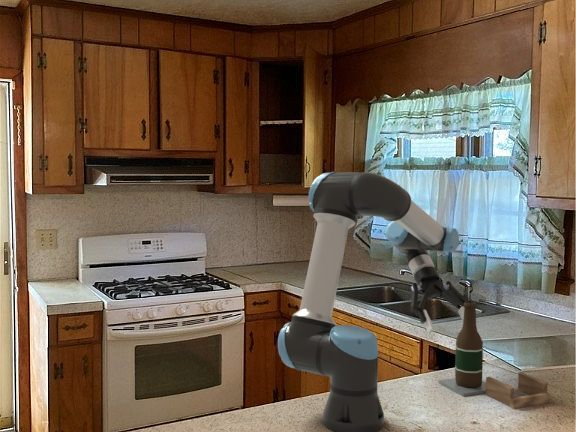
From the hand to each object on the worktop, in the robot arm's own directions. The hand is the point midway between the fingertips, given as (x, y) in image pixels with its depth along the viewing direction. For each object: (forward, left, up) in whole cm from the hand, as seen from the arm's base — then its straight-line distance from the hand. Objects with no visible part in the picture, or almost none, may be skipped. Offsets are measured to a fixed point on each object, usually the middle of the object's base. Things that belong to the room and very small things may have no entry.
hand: (450, 328), depth 190 cm
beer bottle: (0, -9, -14) cm, 17 cm away
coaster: (0, -9, -15) cm, 18 cm away
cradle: (+7, -21, -15) cm, 27 cm away
